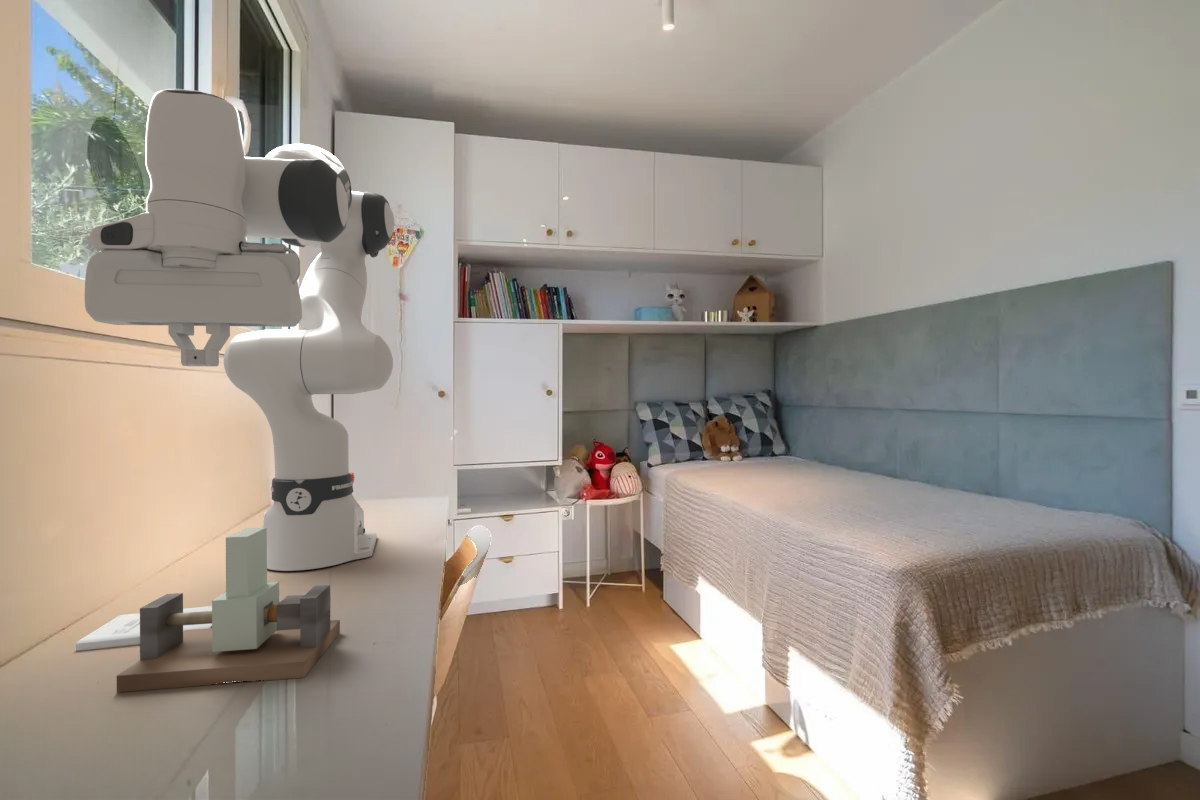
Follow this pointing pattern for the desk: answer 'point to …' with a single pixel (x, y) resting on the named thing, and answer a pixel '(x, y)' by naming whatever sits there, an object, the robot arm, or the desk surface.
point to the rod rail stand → (192, 662)
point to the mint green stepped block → (244, 594)
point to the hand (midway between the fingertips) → (200, 366)
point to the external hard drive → (126, 631)
